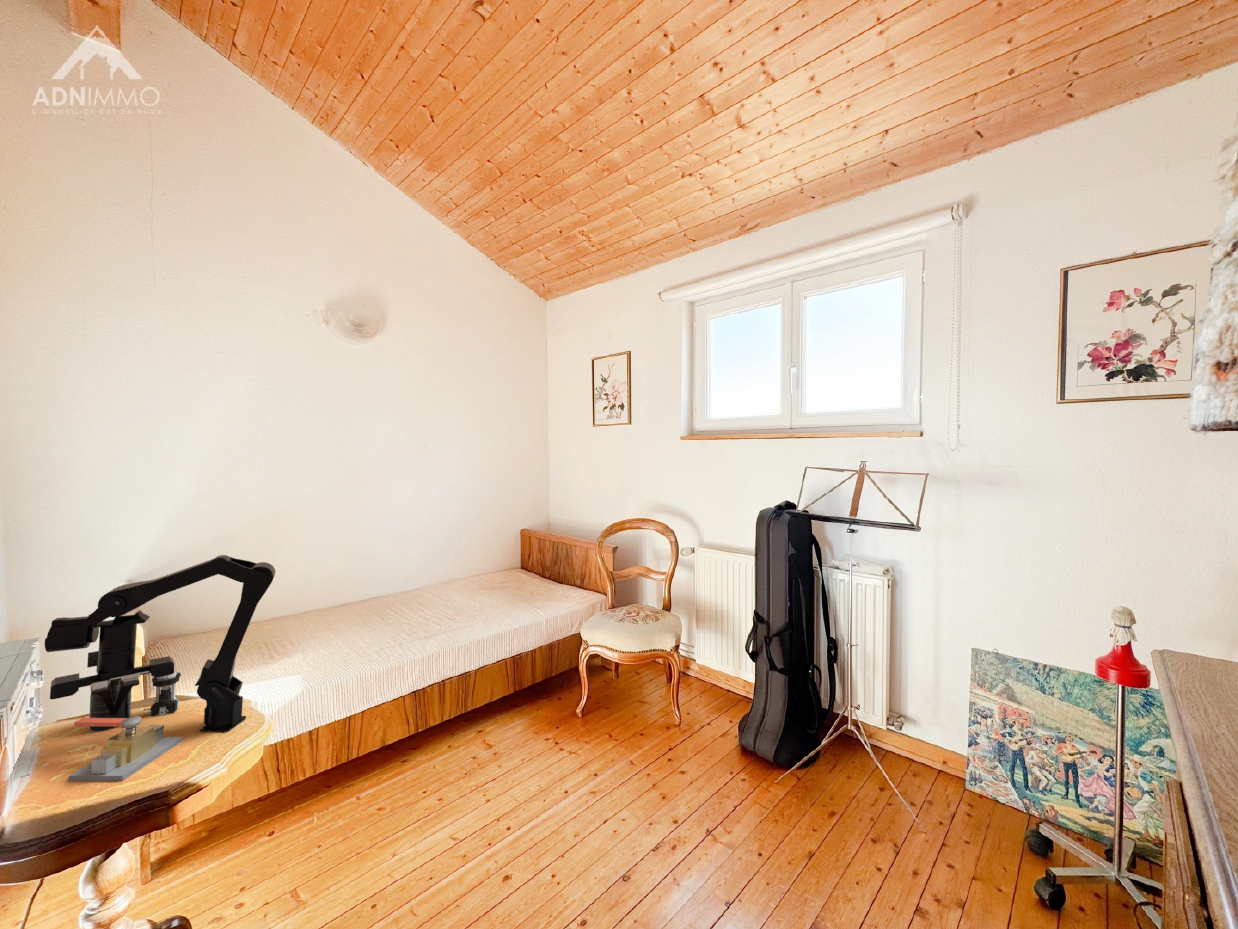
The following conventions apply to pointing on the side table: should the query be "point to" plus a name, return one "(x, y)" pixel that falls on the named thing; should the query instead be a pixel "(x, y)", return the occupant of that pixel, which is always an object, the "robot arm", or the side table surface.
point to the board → (129, 767)
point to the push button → (165, 695)
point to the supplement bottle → (101, 711)
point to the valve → (126, 747)
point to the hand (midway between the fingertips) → (113, 715)
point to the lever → (109, 722)
